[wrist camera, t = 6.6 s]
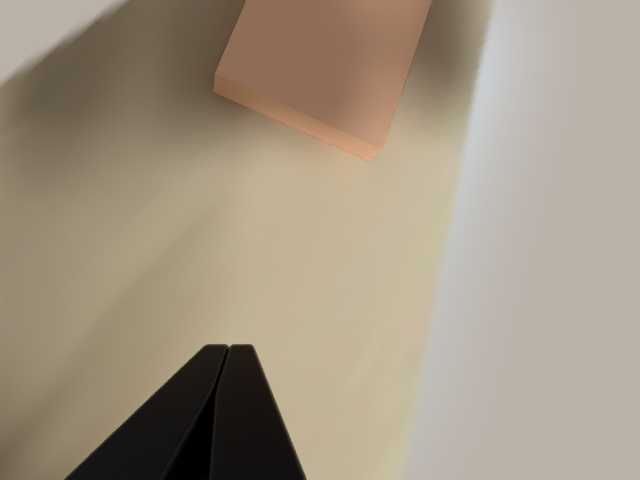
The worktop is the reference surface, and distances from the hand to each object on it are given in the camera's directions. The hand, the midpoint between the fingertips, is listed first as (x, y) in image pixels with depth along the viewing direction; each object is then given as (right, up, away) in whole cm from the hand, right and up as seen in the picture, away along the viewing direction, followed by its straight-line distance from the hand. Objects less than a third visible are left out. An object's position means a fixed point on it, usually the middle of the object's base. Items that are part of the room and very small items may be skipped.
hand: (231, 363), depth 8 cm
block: (+1, +7, +10) cm, 13 cm away
